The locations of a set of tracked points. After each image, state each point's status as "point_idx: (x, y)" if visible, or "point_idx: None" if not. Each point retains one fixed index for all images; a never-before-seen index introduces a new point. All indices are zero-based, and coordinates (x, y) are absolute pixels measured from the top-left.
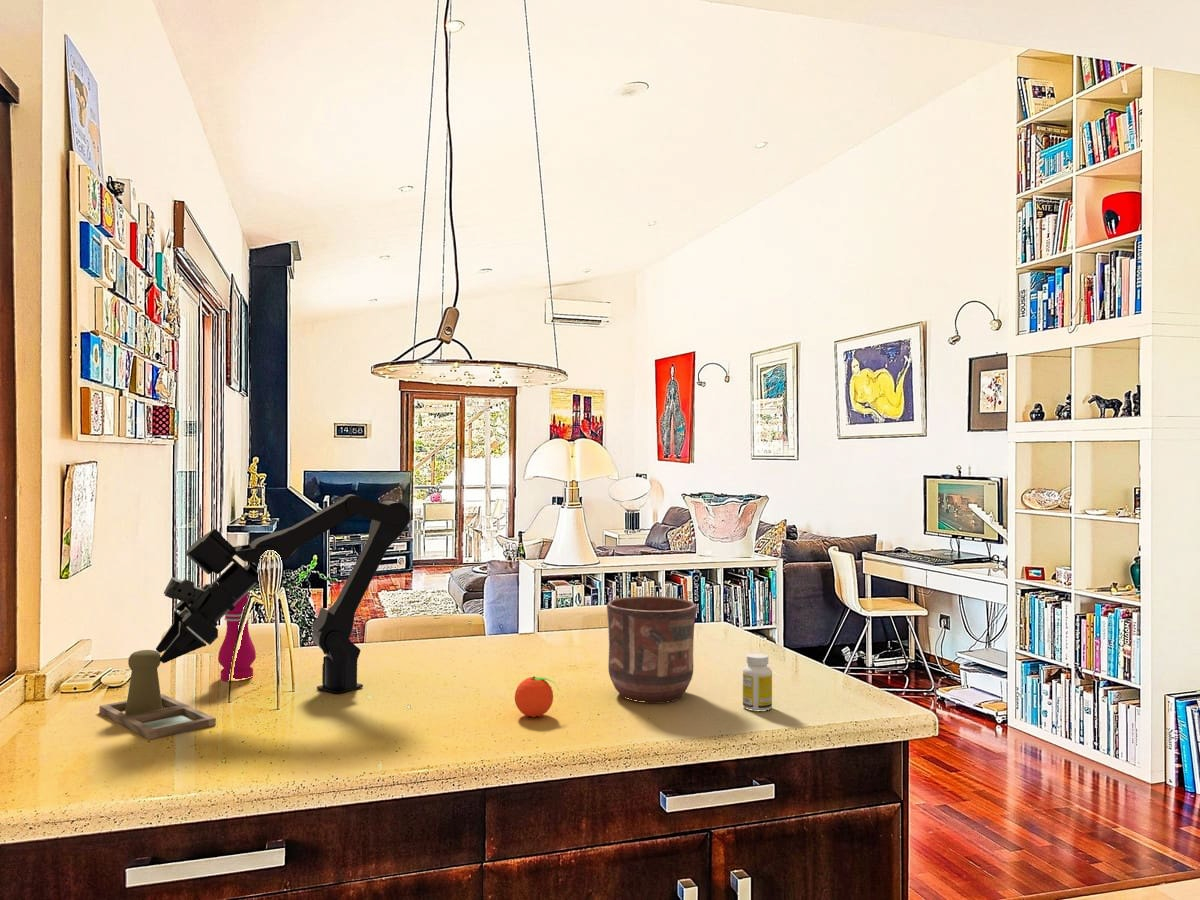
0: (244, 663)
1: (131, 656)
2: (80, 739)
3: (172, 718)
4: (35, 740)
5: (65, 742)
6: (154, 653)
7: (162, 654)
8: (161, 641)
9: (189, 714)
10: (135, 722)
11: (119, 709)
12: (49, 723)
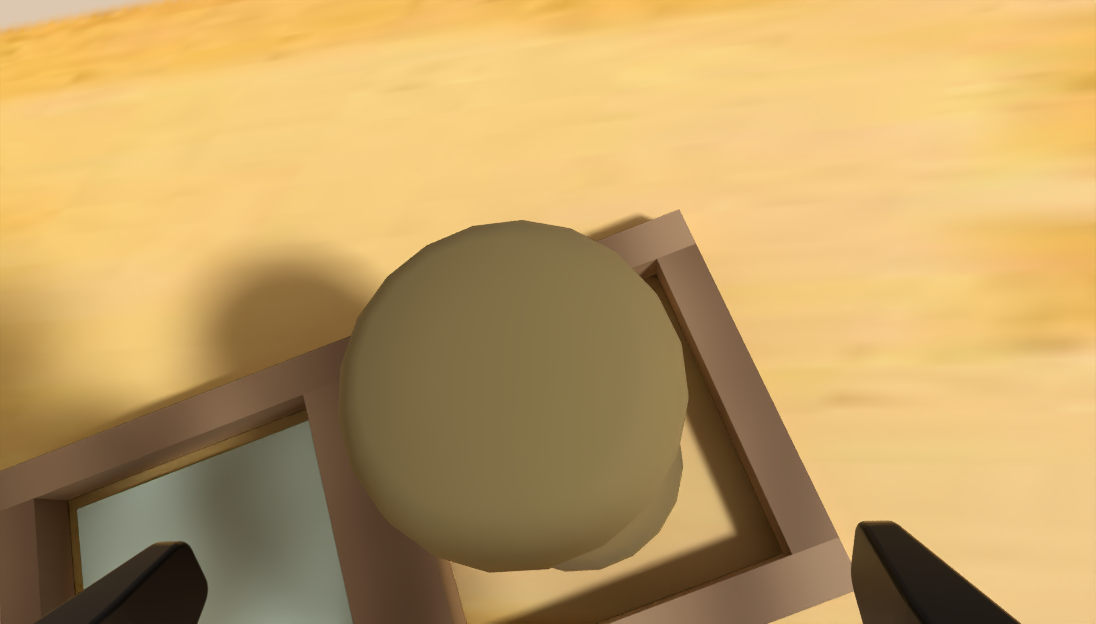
0: None
1: (453, 236)
2: (232, 191)
3: (322, 619)
4: (322, 38)
5: (225, 142)
6: (388, 486)
7: (129, 582)
8: (922, 616)
9: None
10: (217, 405)
11: (680, 321)
12: (568, 44)
